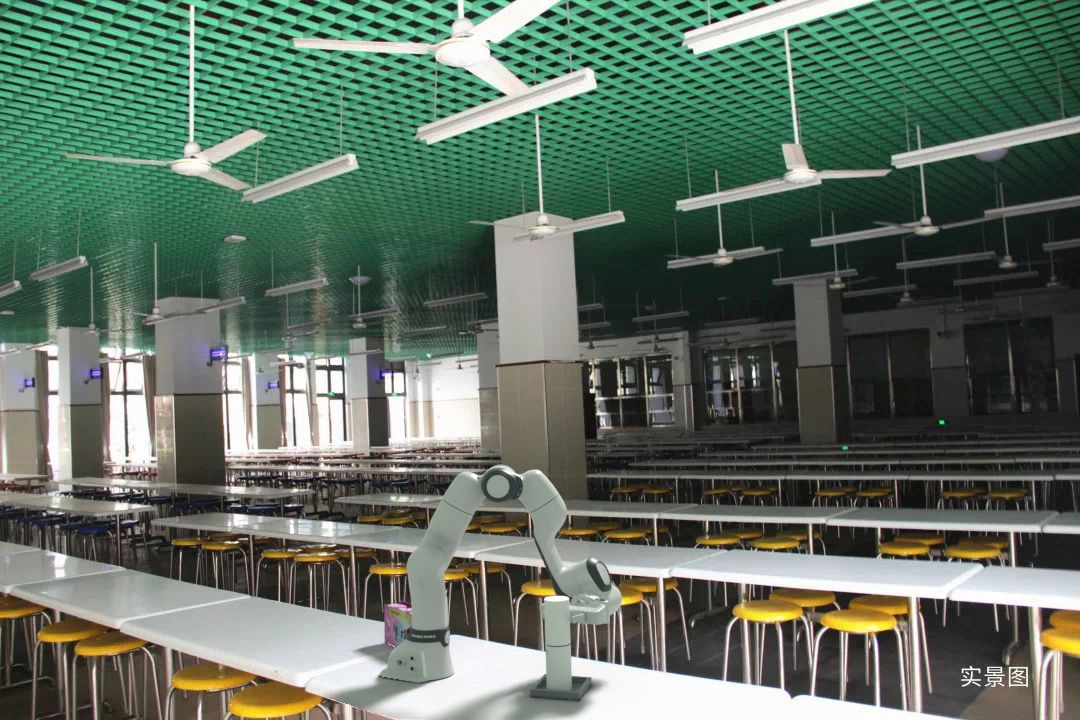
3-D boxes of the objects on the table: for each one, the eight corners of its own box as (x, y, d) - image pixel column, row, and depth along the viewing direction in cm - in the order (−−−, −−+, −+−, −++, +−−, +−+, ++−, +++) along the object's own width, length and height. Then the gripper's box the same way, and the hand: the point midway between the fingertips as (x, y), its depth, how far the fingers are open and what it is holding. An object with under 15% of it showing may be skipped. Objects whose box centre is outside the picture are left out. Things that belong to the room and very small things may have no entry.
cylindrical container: (559, 695, 224) (556, 602, 226) (541, 689, 229) (538, 599, 231) (577, 688, 229) (574, 598, 231) (559, 683, 234) (556, 594, 236)
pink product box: (381, 642, 287) (381, 603, 288) (402, 638, 291) (401, 599, 292) (414, 657, 268) (413, 614, 269) (435, 652, 272) (434, 611, 273)
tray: (530, 697, 225) (530, 689, 225) (545, 681, 238) (544, 674, 238) (579, 701, 221) (579, 692, 221) (591, 685, 234) (591, 677, 234)
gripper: (556, 593, 248) (528, 602, 237) (613, 601, 235) (586, 610, 224) (556, 614, 247) (528, 624, 236) (614, 623, 235) (587, 634, 224)
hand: (557, 617), depth 230 cm, fingers open, 8 cm apart
